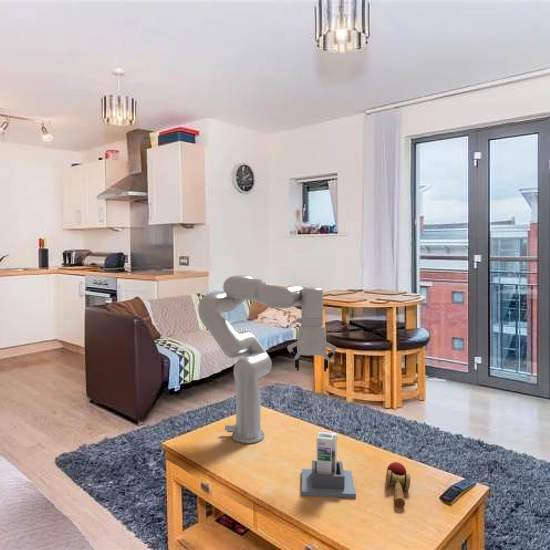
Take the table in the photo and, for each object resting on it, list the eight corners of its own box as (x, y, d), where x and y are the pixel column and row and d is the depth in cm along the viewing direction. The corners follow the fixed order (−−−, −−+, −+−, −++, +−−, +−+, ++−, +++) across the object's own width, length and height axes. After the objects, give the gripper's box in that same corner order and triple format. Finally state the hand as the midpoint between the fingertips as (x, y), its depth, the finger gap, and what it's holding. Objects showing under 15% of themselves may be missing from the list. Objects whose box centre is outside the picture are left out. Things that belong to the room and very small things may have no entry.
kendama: (416, 513, 127) (410, 474, 145) (413, 493, 126) (407, 456, 144) (388, 514, 129) (385, 475, 146) (385, 495, 128) (382, 458, 145)
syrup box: (315, 484, 138) (316, 437, 137) (318, 474, 144) (319, 430, 143) (334, 486, 137) (335, 440, 136) (336, 476, 142) (337, 432, 142)
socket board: (301, 495, 134) (301, 478, 133) (301, 472, 148) (302, 456, 147) (355, 497, 133) (356, 480, 132) (351, 474, 147) (351, 458, 146)
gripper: (287, 323, 155) (286, 372, 156) (337, 324, 154) (336, 373, 155) (287, 320, 163) (287, 366, 164) (335, 321, 162) (335, 367, 163)
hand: (311, 370), depth 160 cm, fingers open, 9 cm apart
